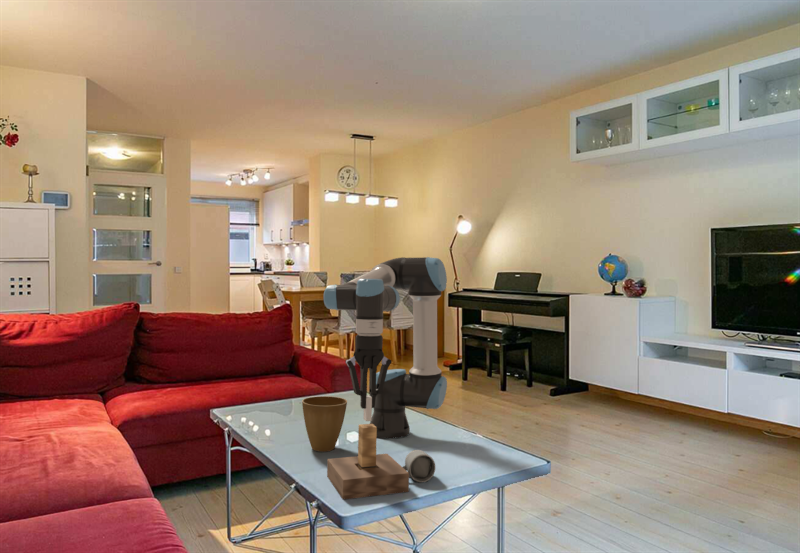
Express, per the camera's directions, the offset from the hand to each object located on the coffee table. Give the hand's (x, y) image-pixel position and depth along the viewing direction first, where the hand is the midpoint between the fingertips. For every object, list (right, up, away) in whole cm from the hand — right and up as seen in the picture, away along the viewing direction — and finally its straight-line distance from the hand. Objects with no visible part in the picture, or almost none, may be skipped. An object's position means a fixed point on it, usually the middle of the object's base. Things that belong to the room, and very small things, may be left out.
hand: (367, 419), depth 159 cm
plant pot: (-16, -18, +32) cm, 41 cm away
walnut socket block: (0, -18, 0) cm, 18 cm away
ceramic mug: (+13, -18, +5) cm, 23 cm away
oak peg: (0, -17, 0) cm, 17 cm away
